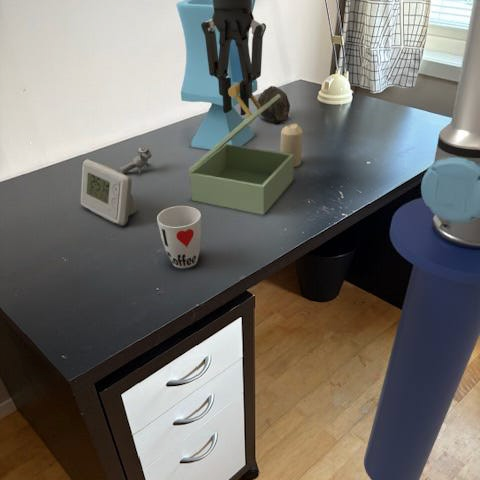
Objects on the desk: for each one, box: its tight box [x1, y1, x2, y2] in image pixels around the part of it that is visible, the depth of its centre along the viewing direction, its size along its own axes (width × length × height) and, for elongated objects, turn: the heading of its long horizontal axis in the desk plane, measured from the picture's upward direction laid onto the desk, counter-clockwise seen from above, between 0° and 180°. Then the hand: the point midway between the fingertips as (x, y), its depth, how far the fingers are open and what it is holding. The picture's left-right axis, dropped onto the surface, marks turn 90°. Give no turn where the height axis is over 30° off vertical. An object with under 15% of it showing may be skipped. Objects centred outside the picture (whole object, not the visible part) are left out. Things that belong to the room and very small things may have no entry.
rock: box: [256, 85, 291, 123], centre depth 150 cm, size 10×11×10 cm
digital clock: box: [80, 158, 136, 227], centre depth 107 cm, size 16×9×11 cm, turn 37°
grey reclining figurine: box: [119, 147, 152, 175], centre depth 125 cm, size 10×6×9 cm
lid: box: [187, 80, 281, 173], centre depth 107 cm, size 19×19×8 cm
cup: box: [156, 205, 202, 269], centre depth 91 cm, size 8×8×10 cm
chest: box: [189, 144, 294, 216], centre depth 114 cm, size 19×19×7 cm
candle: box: [280, 123, 304, 168], centre depth 124 cm, size 6×6×10 cm
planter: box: [176, 0, 258, 151], centre depth 129 cm, size 16×16×35 cm
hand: (236, 111), depth 105 cm, fingers open, 3 cm apart
